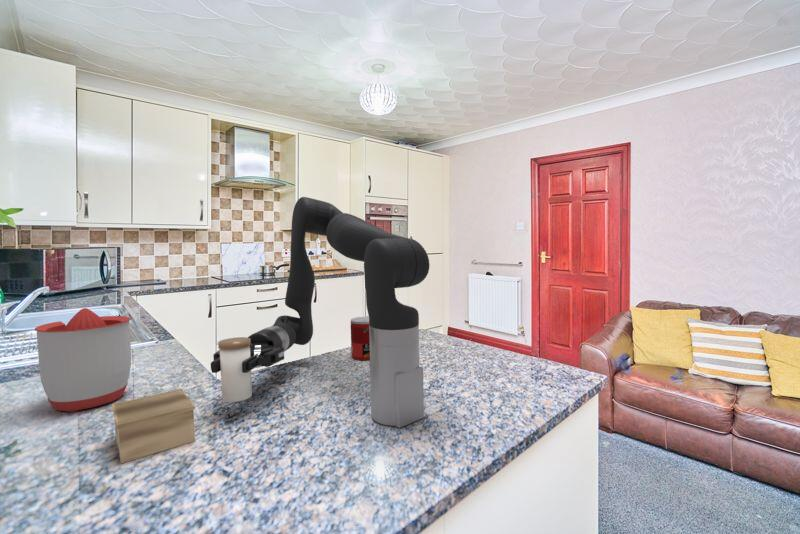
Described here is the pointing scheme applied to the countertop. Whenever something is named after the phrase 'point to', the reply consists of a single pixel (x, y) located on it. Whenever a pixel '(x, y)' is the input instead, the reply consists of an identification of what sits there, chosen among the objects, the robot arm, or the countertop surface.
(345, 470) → the countertop surface
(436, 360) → the countertop surface
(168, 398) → the oak box
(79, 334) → the citrus juicer
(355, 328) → the canned food
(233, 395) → the cream jar
